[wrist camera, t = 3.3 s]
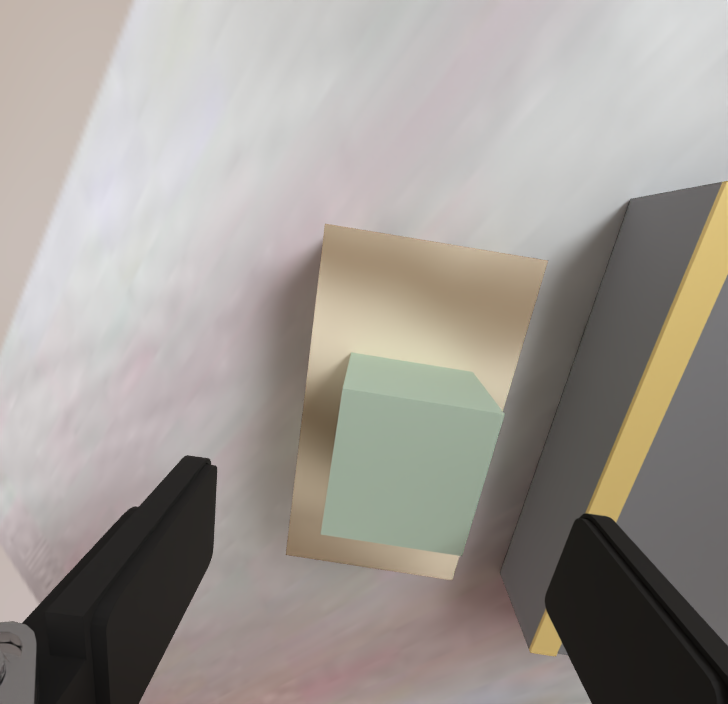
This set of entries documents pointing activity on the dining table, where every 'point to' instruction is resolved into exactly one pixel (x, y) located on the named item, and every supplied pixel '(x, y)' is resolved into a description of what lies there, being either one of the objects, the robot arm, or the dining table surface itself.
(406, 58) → the dining table surface
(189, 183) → the dining table surface
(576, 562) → the robot arm
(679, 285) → the dock
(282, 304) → the dining table surface
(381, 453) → the box
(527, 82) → the dining table surface
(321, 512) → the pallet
